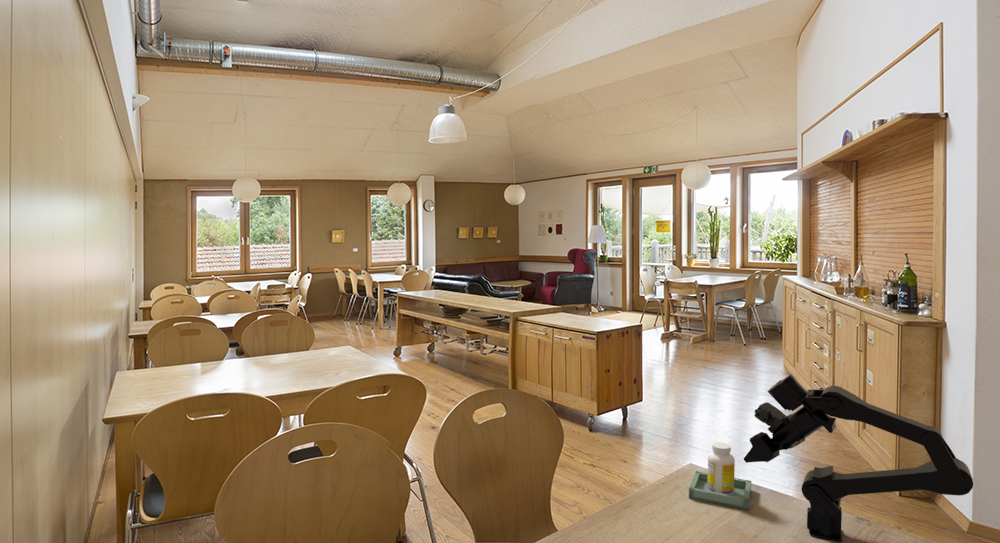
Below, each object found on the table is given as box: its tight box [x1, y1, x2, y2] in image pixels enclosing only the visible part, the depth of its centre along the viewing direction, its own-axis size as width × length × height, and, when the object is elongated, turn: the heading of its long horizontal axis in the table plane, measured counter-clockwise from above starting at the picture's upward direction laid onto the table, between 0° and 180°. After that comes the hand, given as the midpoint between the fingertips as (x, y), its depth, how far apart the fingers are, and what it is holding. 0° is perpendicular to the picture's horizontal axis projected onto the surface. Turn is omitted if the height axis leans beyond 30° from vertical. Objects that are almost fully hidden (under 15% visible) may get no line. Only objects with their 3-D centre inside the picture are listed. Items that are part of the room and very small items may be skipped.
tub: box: [688, 470, 752, 511], centre depth 153 cm, size 14×12×2 cm
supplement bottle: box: [707, 441, 736, 495], centre depth 153 cm, size 7×7×13 cm
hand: (753, 455), depth 145 cm, fingers open, 9 cm apart
